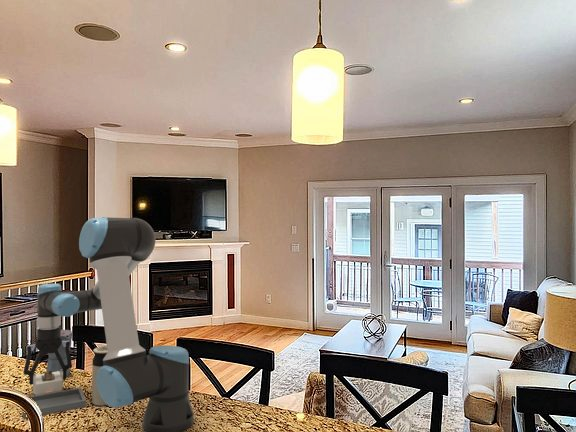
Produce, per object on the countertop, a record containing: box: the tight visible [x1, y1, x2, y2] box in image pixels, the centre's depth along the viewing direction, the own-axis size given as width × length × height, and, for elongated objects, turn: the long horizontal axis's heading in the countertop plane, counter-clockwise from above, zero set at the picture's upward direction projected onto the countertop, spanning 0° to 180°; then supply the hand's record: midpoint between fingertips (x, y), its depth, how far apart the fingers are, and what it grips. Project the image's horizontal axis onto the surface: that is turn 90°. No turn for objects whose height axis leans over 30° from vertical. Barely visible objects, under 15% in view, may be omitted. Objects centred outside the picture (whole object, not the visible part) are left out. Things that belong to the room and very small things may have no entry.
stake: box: [43, 371, 52, 381], centre depth 160 cm, size 3×3×7 cm
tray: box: [22, 387, 87, 419], centre depth 149 cm, size 13×18×2 cm
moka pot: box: [45, 325, 73, 378], centre depth 176 cm, size 10×15×20 cm, turn 60°
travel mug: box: [91, 345, 108, 407], centre depth 152 cm, size 8×8×18 cm
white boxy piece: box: [34, 371, 63, 396], centre depth 159 cm, size 12×8×5 cm, turn 32°
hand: (47, 390), depth 160 cm, fingers closed on white boxy piece, 8 cm apart
